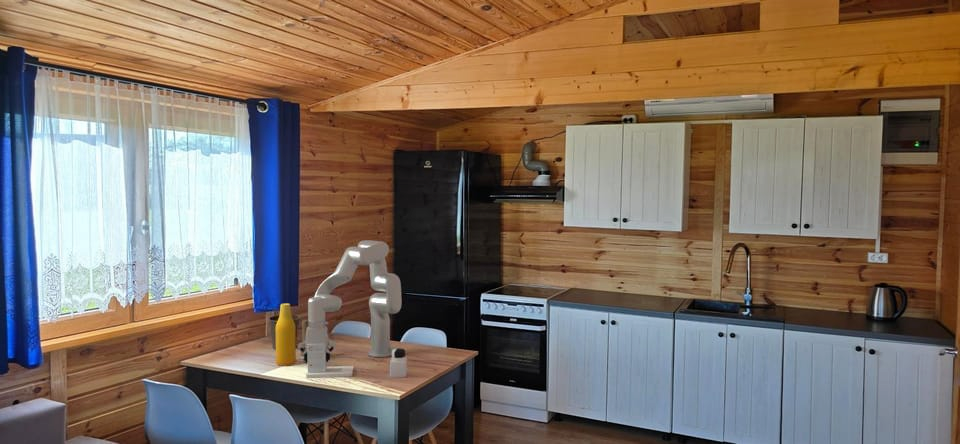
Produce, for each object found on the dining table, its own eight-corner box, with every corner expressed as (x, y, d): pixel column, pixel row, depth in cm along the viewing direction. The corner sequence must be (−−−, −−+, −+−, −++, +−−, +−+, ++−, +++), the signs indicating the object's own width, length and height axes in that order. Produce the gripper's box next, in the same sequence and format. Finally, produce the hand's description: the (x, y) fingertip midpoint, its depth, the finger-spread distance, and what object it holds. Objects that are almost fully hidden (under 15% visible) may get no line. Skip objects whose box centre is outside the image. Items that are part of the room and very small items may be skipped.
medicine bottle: (406, 372, 299) (406, 347, 299) (405, 377, 292) (405, 351, 292) (391, 372, 299) (391, 347, 298) (389, 377, 292) (389, 351, 291)
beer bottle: (285, 360, 320) (285, 301, 318) (299, 362, 316) (299, 303, 314) (271, 364, 312) (271, 304, 310) (286, 367, 307) (285, 306, 306)
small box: (327, 368, 301) (326, 340, 300) (325, 372, 294) (325, 343, 294) (309, 368, 300) (308, 340, 299) (307, 372, 293) (307, 344, 293)
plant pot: (291, 352, 335) (291, 321, 334) (262, 350, 338) (262, 320, 337) (305, 344, 351) (305, 315, 350) (277, 343, 354) (276, 313, 353)
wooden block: (314, 359, 322) (314, 323, 321) (300, 355, 328) (300, 320, 327) (320, 357, 325) (320, 322, 324) (306, 354, 331) (305, 319, 330)
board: (353, 369, 305) (353, 365, 305) (351, 376, 293) (351, 373, 293) (309, 370, 302) (309, 367, 302) (306, 378, 290) (306, 374, 290)
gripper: (336, 322, 300) (337, 358, 302) (298, 323, 298) (298, 359, 299) (335, 325, 293) (335, 363, 294) (296, 326, 291) (296, 364, 292)
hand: (317, 361), depth 297 cm, fingers open, 9 cm apart
